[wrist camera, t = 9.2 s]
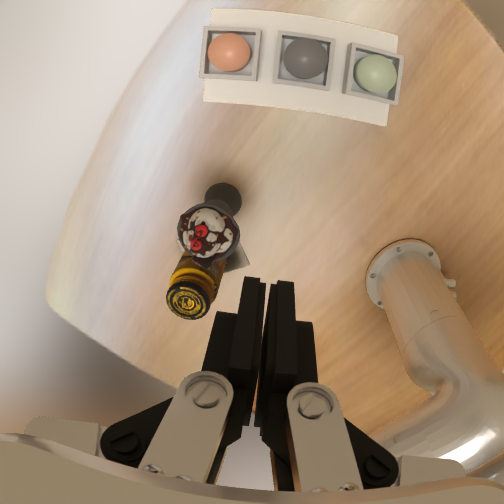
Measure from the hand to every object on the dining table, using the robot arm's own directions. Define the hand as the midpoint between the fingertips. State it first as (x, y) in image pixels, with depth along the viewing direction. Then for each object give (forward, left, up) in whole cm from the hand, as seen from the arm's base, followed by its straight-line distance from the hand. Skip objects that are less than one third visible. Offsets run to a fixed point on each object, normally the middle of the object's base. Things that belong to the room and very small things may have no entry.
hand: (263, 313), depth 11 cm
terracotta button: (+6, -11, -29) cm, 32 cm away
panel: (-2, -11, -31) cm, 33 cm away
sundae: (+6, +8, -31) cm, 33 cm away
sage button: (-10, -11, -29) cm, 33 cm away
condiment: (+7, +16, -31) cm, 36 cm away
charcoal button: (-2, -11, -28) cm, 30 cm away
